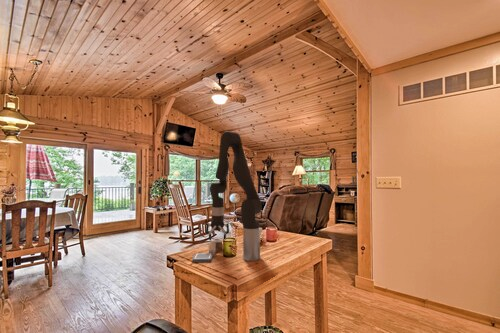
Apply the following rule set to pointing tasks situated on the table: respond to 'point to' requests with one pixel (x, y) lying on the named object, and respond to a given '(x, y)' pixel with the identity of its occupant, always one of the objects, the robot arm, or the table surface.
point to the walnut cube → (218, 245)
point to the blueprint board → (202, 257)
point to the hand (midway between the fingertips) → (217, 240)
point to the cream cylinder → (212, 247)
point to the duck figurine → (261, 233)
